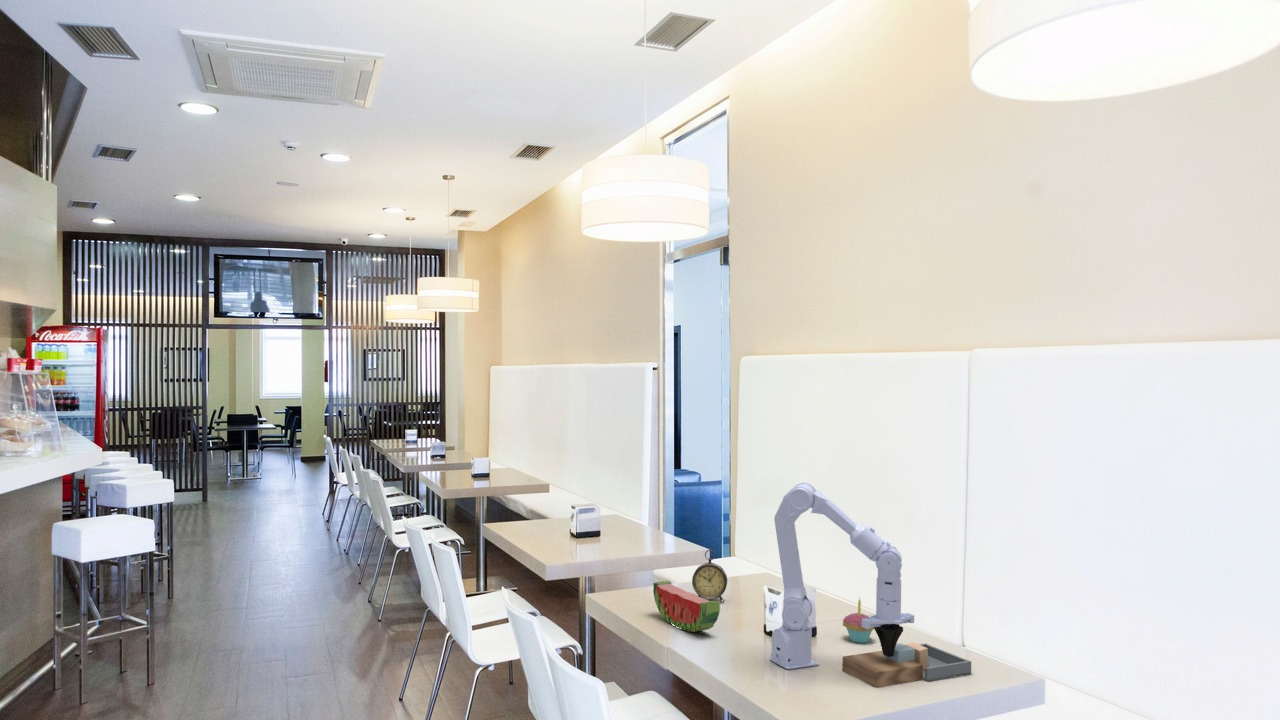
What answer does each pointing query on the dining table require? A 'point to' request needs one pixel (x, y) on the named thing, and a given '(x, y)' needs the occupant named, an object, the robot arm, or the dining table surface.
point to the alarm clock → (709, 580)
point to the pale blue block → (903, 653)
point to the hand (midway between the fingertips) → (887, 655)
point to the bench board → (881, 669)
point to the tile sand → (920, 654)
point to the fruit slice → (685, 607)
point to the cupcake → (857, 626)
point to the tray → (944, 664)
